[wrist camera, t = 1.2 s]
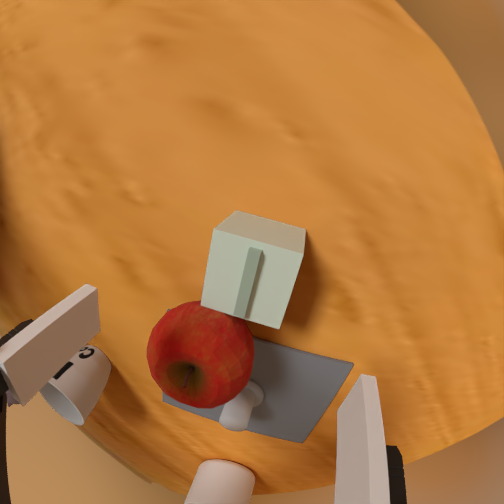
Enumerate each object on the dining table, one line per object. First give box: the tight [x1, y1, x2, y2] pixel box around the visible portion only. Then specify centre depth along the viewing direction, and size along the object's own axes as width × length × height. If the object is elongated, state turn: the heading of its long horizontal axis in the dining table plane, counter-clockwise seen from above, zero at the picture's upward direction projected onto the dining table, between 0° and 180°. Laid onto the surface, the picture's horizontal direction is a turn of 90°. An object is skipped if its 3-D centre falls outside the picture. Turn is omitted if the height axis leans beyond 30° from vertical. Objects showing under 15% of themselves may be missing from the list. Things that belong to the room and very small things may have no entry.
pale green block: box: [201, 210, 306, 329], centre depth 22 cm, size 6×6×7 cm
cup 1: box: [39, 345, 111, 425], centre depth 31 cm, size 8×8×10 cm
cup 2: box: [184, 459, 255, 504], centre depth 36 cm, size 10×10×10 cm
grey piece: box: [163, 309, 353, 443], centre depth 29 cm, size 20×16×5 cm
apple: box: [147, 301, 254, 409], centre depth 23 cm, size 9×8×11 cm
